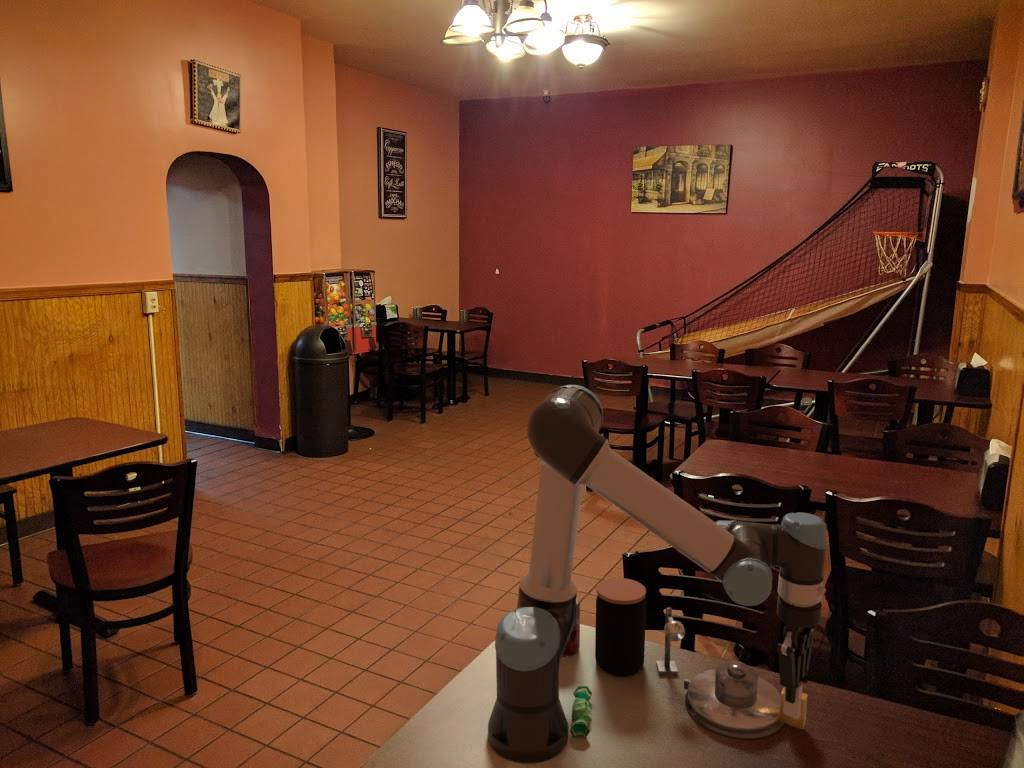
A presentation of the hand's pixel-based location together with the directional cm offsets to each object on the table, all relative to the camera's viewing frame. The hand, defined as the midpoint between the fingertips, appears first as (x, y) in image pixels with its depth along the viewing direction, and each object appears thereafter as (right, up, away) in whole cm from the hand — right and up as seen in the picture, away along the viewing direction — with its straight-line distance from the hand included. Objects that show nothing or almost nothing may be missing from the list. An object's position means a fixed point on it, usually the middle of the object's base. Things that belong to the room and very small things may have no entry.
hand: (791, 714), depth 139 cm
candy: (-39, -4, +6) cm, 40 cm away
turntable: (-7, -2, +8) cm, 11 cm away
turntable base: (-8, -3, +8) cm, 12 cm away
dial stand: (-19, -1, +19) cm, 27 cm away
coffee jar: (-29, 0, +24) cm, 37 cm away
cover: (-8, 0, +7) cm, 11 cm away
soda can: (-41, +1, +30) cm, 51 cm away
